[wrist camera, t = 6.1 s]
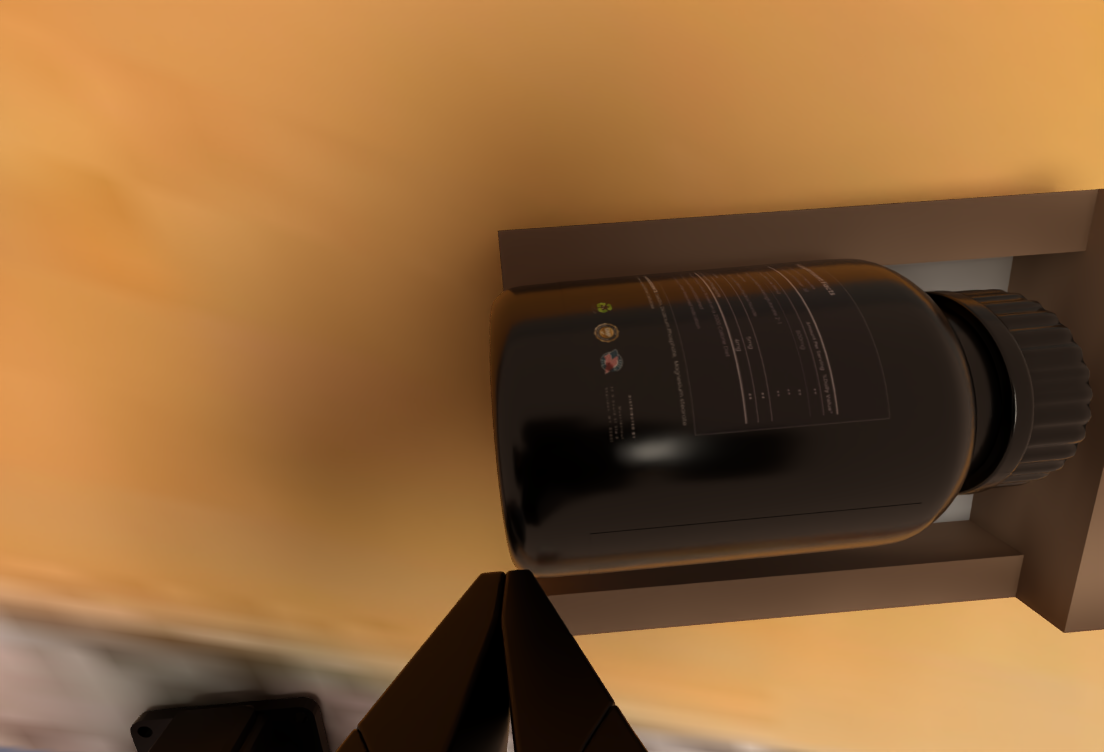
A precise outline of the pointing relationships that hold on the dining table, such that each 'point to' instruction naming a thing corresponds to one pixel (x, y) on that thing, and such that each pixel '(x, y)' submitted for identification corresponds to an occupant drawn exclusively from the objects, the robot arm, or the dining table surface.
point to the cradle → (971, 520)
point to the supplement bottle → (764, 411)
